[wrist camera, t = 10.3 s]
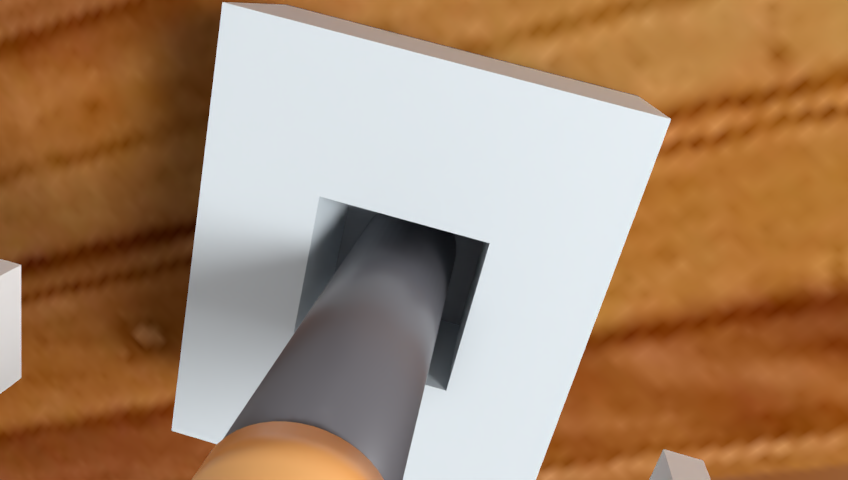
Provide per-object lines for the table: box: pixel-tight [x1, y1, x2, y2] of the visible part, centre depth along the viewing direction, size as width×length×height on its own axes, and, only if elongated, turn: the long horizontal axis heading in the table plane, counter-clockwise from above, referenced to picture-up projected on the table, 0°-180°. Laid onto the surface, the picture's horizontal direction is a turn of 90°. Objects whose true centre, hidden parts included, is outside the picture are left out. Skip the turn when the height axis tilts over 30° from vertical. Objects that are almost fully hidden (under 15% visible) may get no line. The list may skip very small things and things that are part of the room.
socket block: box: [172, 2, 671, 480], centre depth 22 cm, size 12×14×5 cm
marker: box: [192, 213, 456, 480], centre depth 17 cm, size 4×4×14 cm
